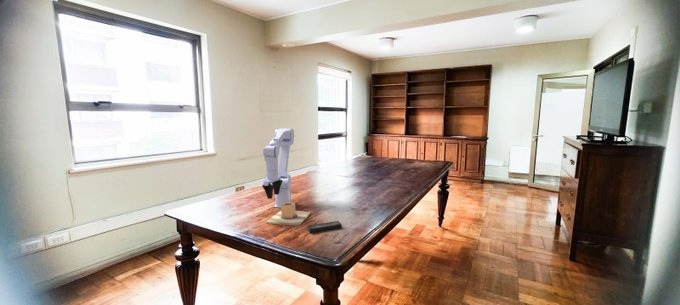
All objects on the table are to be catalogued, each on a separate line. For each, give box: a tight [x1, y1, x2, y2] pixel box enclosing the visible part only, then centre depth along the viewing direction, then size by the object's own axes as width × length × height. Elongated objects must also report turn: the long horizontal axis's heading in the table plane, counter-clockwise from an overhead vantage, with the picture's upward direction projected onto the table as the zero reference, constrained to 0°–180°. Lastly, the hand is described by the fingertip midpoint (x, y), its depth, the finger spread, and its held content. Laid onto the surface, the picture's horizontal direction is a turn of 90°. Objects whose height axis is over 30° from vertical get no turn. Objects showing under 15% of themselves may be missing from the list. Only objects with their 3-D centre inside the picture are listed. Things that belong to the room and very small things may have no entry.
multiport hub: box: [306, 220, 343, 235], centre depth 125 cm, size 4×14×2 cm, turn 111°
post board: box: [266, 210, 311, 227], centre depth 138 cm, size 16×16×6 cm
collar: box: [280, 202, 297, 218], centre depth 138 cm, size 5×5×6 cm
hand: (273, 196), depth 143 cm, fingers open, 7 cm apart
